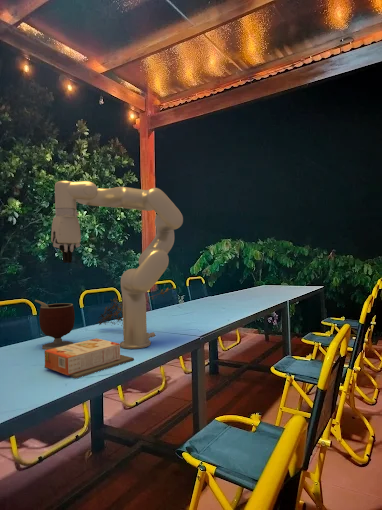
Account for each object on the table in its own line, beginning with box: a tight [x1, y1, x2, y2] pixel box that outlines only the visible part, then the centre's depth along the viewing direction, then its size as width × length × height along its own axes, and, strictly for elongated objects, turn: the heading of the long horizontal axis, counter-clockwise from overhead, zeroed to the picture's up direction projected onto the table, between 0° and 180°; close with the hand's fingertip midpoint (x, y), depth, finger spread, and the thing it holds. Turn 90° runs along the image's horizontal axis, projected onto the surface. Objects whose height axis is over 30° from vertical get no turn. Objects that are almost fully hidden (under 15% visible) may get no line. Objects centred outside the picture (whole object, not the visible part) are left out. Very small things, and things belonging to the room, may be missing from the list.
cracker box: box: [44, 338, 121, 376], centre depth 122 cm, size 14×6×21 cm
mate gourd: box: [34, 299, 76, 351], centre depth 150 cm, size 16×14×20 cm
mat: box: [44, 354, 135, 379], centre depth 124 cm, size 23×19×1 cm
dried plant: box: [94, 286, 181, 327], centre depth 173 cm, size 30×31×45 cm
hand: (67, 262), depth 136 cm, fingers closed
